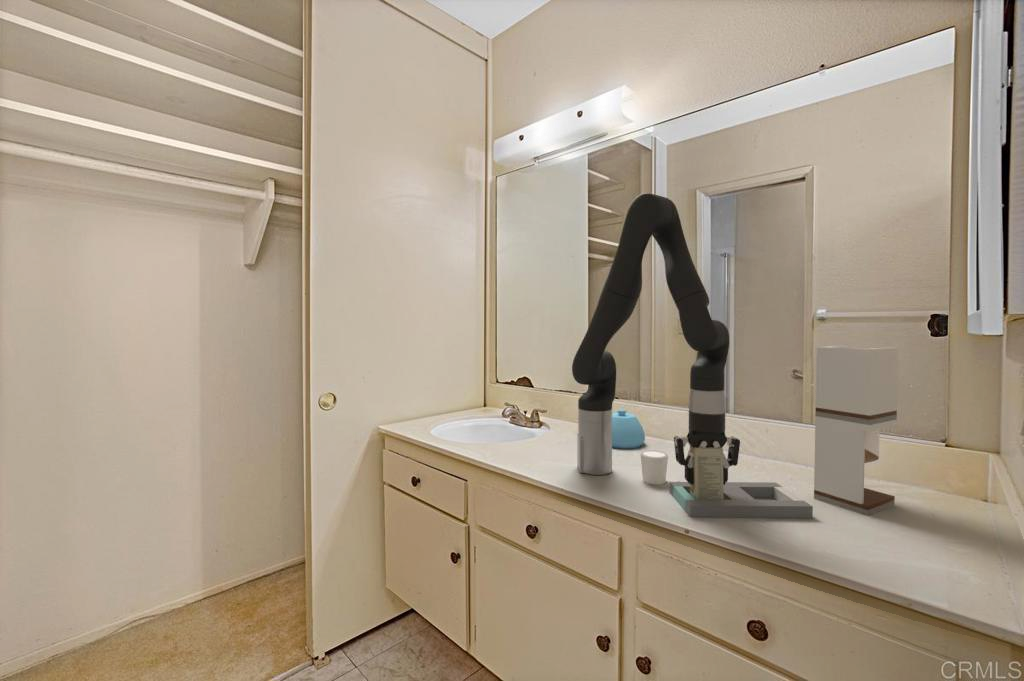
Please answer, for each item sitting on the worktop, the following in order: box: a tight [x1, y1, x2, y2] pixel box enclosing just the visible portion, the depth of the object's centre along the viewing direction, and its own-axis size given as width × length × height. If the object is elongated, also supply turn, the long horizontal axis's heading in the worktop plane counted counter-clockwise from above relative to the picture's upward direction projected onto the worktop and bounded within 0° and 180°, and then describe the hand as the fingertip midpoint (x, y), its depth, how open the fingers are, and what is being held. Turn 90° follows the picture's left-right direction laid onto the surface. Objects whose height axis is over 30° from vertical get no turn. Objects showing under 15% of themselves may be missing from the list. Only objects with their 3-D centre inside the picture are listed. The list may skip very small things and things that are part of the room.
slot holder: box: [668, 481, 814, 519], centre depth 101 cm, size 25×14×2 cm, turn 88°
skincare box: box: [689, 444, 724, 500], centre depth 101 cm, size 6×4×12 cm
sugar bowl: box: [612, 408, 646, 450], centre depth 152 cm, size 15×15×12 cm
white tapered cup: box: [640, 450, 669, 485], centre depth 116 cm, size 7×7×7 cm
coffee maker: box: [813, 345, 899, 517], centre depth 101 cm, size 11×11×35 cm
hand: (706, 483), depth 101 cm, fingers closed on skincare box, 6 cm apart
